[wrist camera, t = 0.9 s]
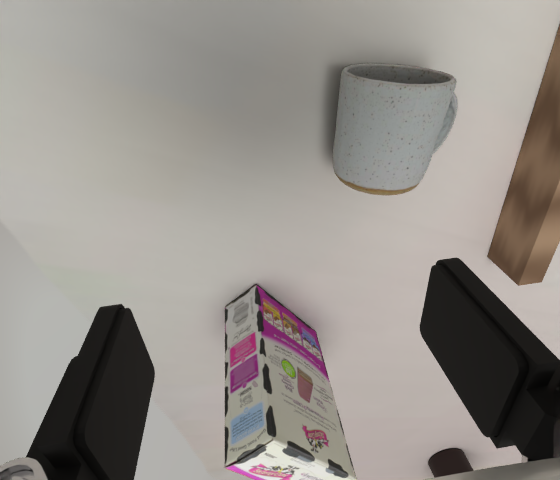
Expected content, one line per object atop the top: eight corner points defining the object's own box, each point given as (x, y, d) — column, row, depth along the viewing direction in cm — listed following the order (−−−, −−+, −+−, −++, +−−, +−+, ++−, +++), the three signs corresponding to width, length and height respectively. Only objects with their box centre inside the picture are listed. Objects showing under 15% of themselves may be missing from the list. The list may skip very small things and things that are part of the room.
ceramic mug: (320, 166, 31) (347, 206, 25) (328, 62, 27) (364, 78, 20) (432, 161, 32) (485, 197, 26) (458, 62, 28) (529, 77, 22)
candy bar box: (221, 307, 38) (219, 470, 25) (255, 281, 37) (273, 438, 23) (286, 353, 44) (314, 507, 30) (317, 331, 43) (361, 483, 29)
